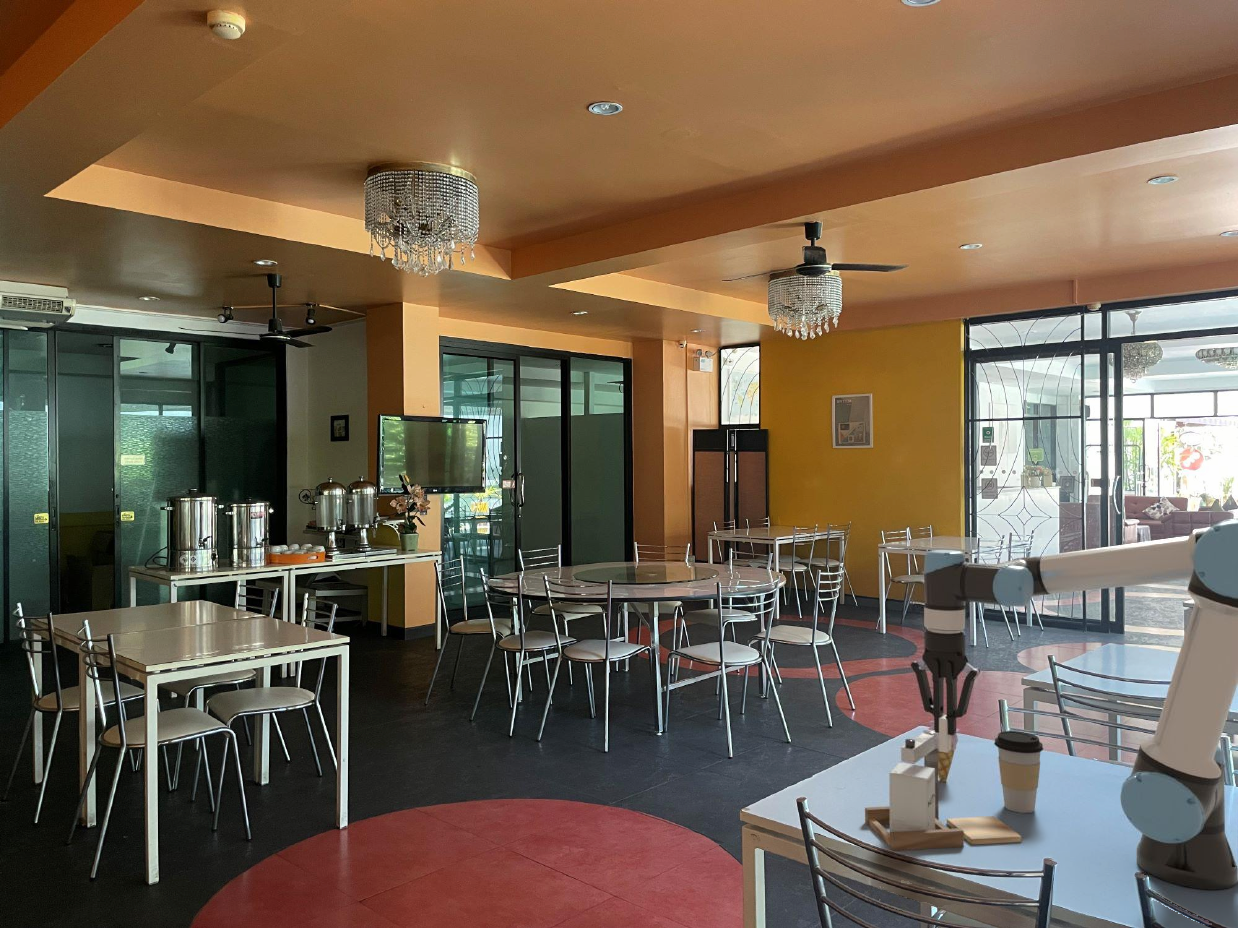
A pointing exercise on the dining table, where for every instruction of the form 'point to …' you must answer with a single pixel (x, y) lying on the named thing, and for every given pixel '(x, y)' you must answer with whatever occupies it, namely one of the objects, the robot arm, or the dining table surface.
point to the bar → (919, 746)
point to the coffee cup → (1019, 769)
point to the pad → (984, 830)
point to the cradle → (916, 838)
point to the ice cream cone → (945, 756)
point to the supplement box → (912, 798)
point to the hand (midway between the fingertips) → (945, 750)
